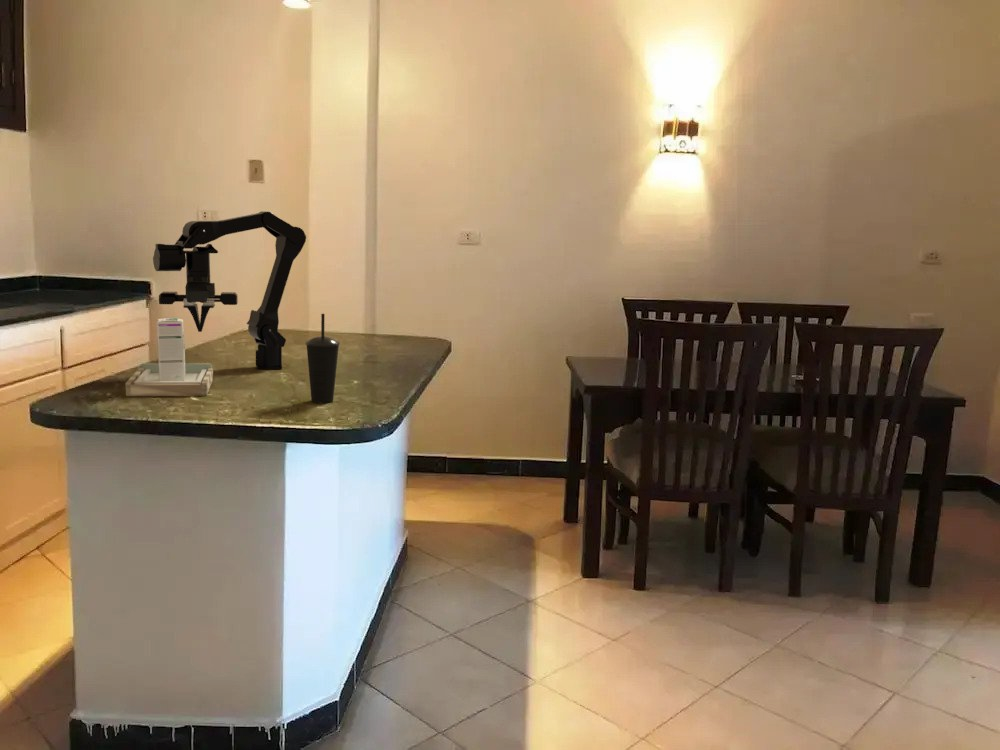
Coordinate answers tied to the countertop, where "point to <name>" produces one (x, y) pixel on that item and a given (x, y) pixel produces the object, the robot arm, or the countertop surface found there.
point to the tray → (192, 376)
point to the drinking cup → (322, 366)
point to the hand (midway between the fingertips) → (200, 331)
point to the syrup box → (171, 349)
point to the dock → (168, 387)
